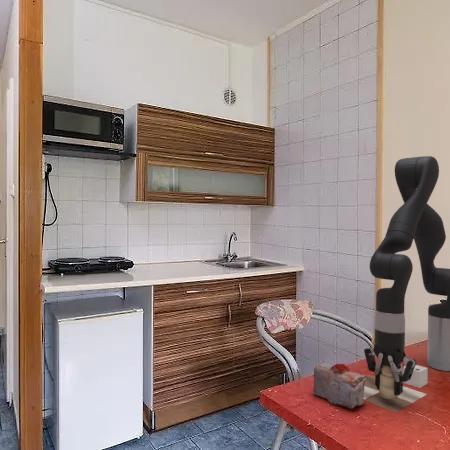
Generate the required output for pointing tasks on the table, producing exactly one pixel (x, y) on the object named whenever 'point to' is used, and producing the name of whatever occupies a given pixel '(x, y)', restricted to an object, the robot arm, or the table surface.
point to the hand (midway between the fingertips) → (388, 391)
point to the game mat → (390, 404)
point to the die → (418, 376)
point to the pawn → (387, 383)
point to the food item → (339, 385)
